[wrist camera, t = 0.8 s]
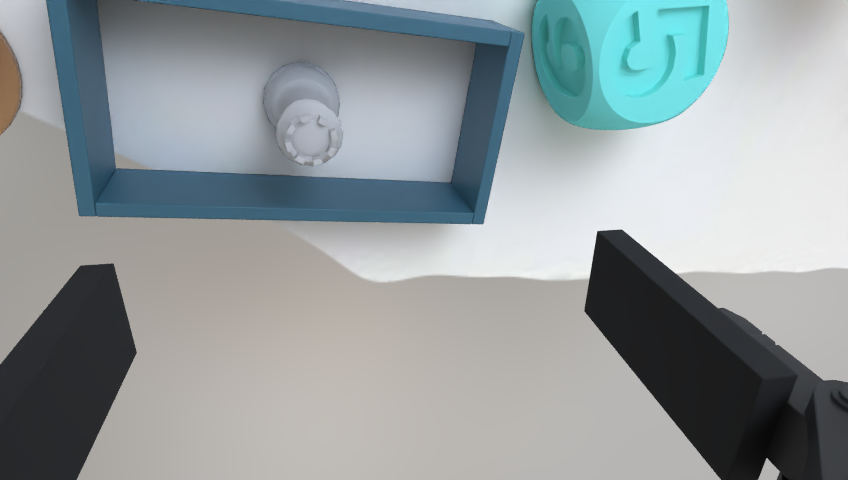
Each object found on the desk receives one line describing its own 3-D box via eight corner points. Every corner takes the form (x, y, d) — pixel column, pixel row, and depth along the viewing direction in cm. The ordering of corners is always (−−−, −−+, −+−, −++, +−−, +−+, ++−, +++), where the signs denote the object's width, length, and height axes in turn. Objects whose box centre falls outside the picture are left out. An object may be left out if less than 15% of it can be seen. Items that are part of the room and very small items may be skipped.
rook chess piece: (305, 148, 35) (316, 200, 28) (247, 101, 32) (243, 145, 26) (353, 96, 34) (376, 137, 27) (296, 44, 32) (306, 74, 25)
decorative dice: (642, 75, 38) (723, 106, 31) (536, 105, 37) (596, 143, 30) (644, -52, 34) (739, -49, 27) (525, -22, 33) (592, -11, 26)
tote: (102, 179, 32) (78, 216, 28) (75, -37, 27) (40, -32, 23) (459, 193, 39) (483, 224, 35) (492, 20, 34) (525, 33, 30)
